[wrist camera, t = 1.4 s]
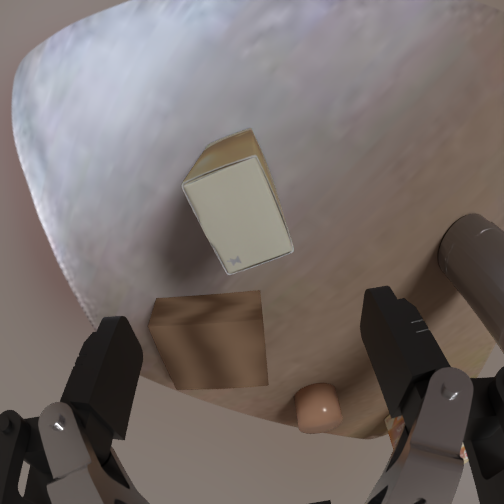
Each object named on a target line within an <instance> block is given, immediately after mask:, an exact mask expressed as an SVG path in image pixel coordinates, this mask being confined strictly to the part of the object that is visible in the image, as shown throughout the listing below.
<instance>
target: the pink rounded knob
mask: <svg viewBox="0 0 504 504" xmlns="http://www.w3.org/2000/svg"><path fill="white" fill-rule="evenodd" d="M294 399H295V406H296V412H297V419H298V426H299V430H300V431H301V432H303V433H307V434H315V433H322V432H326V431H329V430H332V429H334V428H336V427H337V426H339V425H340V424H341V423H342V421H343V417H342V413H341V409H340V405H339V401H338V397H337V393H336V389H335V387H334V386H333V385H331V384H327V383H316V384H312V385H308V386H306V387H304V388H302V389H300V390H299V391H298V392H297V393H296V394H295V396H294Z"/></svg>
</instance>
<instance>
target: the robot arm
mask: <svg viewBox="0 0 504 504" xmlns="http://www.w3.org/2000/svg"><path fill="white" fill-rule="evenodd" d="M438 261H439V266H440V268H441V270H442V271H443V273H444V274H445V275H446V276H447V277H448V279H449V280H450V281H451V282H452V283H453V285H454V286H455V287H456V289H457V290H458V291H459V292H460V294H461V295H462V296H463V297H464V299H465V300H466V301H467V303H468V304H469V305H470V307H471V308H472V309H473V311H474V312H475V313H476V315H477V316H478V317H479V319H480V320H481V321H482V323H483V324H484V326H485V327H486V328H487V330H488V331H489V333H490V334H491V335H492V337H493V338H494V340H495V341H496V343H497V344H498V346H499V347H500V349H501V350H502V352H503V353H504V231H503V230H501V229H500V228H499V227H498V226H496V225H495V224H494V223H493V222H489V221H488V220H487V219H485V218H484V217H483V216H481V215H479V214H469V215H466V216H464V217H462V218H460V219H459V220H458V221H456V222H455V223H454V224H453V225H452V226H451V228H450V229H449V230H448V232H447V233H446V235H445V236H444V238H443V241H442V243H441V246H440V249H439V255H438ZM360 330H361V336H362V340H363V343H364V345H365V348H366V350H367V353H368V355H369V358H370V361H371V363H372V366H373V368H374V371H375V374H376V376H377V379H378V382H379V385H380V387H381V390H382V393H383V396H384V399H385V401H386V404H387V407H388V410H389V413H390V416H391V419H392V418H396V417H399V416H403V419H404V422H405V424H404V426H403V428H402V431H401V433H400V436H399V438H398V441H397V443H396V445H395V448H394V450H393V452H392V454H391V457H390V459H389V461H388V463H387V465H386V468H385V470H384V471H383V474H382V475H381V477H380V479H379V480H378V482H377V483H376V485H375V487H374V488H373V490H372V491H371V493H370V495H369V497H368V498H367V500H366V502H365V504H451V503H452V501H453V498H454V495H455V493H456V489H457V487H458V484H459V481H460V478H461V475H462V471H463V467H464V459H463V458H461V457H460V450H461V447H462V443H463V444H464V447H465V450H466V454H467V457H468V460H469V463H470V467H471V470H472V474H473V478H474V481H475V485H476V489H477V493H478V497H479V501H480V504H504V367H502V368H501V369H500V370H499V371H498V373H497V374H496V376H495V377H489V378H469V376H468V375H467V374H466V373H465V372H463V371H462V370H460V369H457V368H453V367H451V366H450V365H449V363H448V361H447V359H446V358H445V356H444V354H443V352H442V351H441V349H440V347H439V345H438V343H437V342H436V340H435V338H434V337H433V335H432V333H431V331H430V330H428V326H427V325H426V323H425V322H424V321H423V318H422V317H421V315H420V313H419V312H418V310H417V309H416V307H415V306H413V305H412V304H411V303H410V302H408V301H407V300H406V299H404V298H402V299H397V298H396V296H395V295H394V293H393V291H392V290H391V288H390V287H389V286H382V287H376V288H370V289H366V291H365V294H364V301H363V308H362V315H361V322H360ZM142 362H143V352H142V348H141V345H140V343H139V341H138V339H137V337H136V336H135V334H134V332H133V330H132V328H131V326H130V324H129V322H128V320H127V318H126V317H124V316H116V317H104V318H103V319H102V321H101V323H100V325H99V327H98V329H97V332H93V333H92V334H91V335H90V336H89V338H88V339H87V340H86V341H85V342H84V344H83V346H82V348H81V351H80V353H79V357H77V360H76V362H75V366H74V367H73V370H72V372H71V375H70V377H69V379H68V382H67V384H66V387H65V389H64V392H63V395H62V397H61V400H60V402H55V403H52V404H50V405H49V406H47V407H46V408H45V409H44V410H43V411H42V413H41V415H40V417H34V418H28V419H23V418H22V417H21V416H20V415H19V414H18V413H17V412H15V411H13V410H7V411H4V412H3V413H2V414H0V504H149V503H148V502H147V500H146V499H145V498H144V497H143V496H141V494H140V493H139V492H138V491H137V490H136V488H135V487H134V485H133V483H132V481H131V480H130V478H129V476H128V475H127V473H126V471H125V469H124V467H123V466H122V464H121V462H120V460H119V458H118V457H117V455H116V453H115V451H114V449H113V448H112V447H111V444H112V439H118V440H125V436H126V431H127V426H128V421H129V417H130V412H131V408H132V403H133V399H134V395H135V391H136V386H137V382H138V378H139V374H140V370H141V367H142ZM23 460H24V461H25V462H27V463H28V464H30V470H29V474H28V479H27V484H26V489H25V494H24V496H23V497H21V495H20V494H19V491H18V482H19V477H20V473H21V468H22V464H23ZM310 504H331V502H330V500H328V501H323V502H316V503H310Z"/></svg>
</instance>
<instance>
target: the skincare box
mask: <svg viewBox="0 0 504 504" xmlns="http://www.w3.org/2000/svg"><path fill="white" fill-rule="evenodd" d="M181 188H182V190H183V192H184V194H185V196H186V198H187V200H188V202H189V204H190V206H191V208H192V210H193V212H194V214H195V216H196V218H197V219H198V222H199V224H200V226H201V228H202V230H203V231H204V233H205V235H206V237H207V239H208V241H209V242H210V244H211V246H212V248H213V250H214V252H215V254H216V255H217V257H218V259H219V261H220V263H221V265H222V266H223V268H224V270H225V272H226V274H227V275H232V274H235V273H237V272H240V271H244V270H246V269H249V268H253V267H255V266H258V265H261V264H264V263H267V262H270V261H272V260H275V259H278V258H280V257H282V256H285V255H287V254H290V253H292V252H294V247H293V243H292V240H291V237H290V234H289V231H288V228H287V224H286V221H285V218H284V215H283V211H282V208H281V205H280V202H279V198H278V195H277V192H276V188H275V185H274V182H273V179H272V176H271V174H270V171H269V168H268V166H267V163H266V160H265V158H264V155H263V153H262V151H261V148H260V146H259V144H258V142H257V140H256V137H255V135H254V133H253V131H252V129H251V128H249V129H246V130H243V131H240V132H237V133H235V134H232V135H229V136H227V137H224V138H222V139H219V140H217V141H215V142H212V143H210V144H209V145H208V146H207V147H206V148H205V150H204V151H203V153H202V154H201V156H200V157H199V159H198V160H197V162H196V163H195V165H194V166H193V168H192V169H191V171H190V172H189V174H188V175H187V176H186V178H185V180H184V181H183V183H182V185H181Z"/></svg>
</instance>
